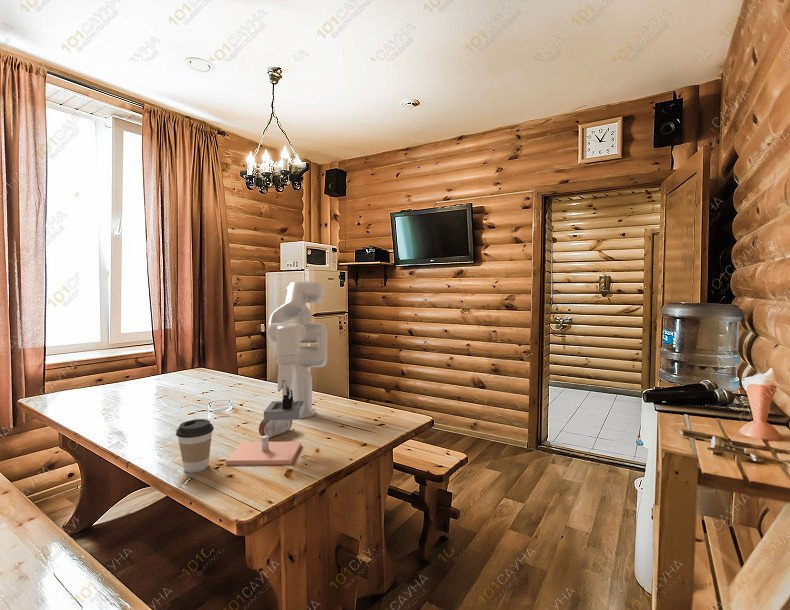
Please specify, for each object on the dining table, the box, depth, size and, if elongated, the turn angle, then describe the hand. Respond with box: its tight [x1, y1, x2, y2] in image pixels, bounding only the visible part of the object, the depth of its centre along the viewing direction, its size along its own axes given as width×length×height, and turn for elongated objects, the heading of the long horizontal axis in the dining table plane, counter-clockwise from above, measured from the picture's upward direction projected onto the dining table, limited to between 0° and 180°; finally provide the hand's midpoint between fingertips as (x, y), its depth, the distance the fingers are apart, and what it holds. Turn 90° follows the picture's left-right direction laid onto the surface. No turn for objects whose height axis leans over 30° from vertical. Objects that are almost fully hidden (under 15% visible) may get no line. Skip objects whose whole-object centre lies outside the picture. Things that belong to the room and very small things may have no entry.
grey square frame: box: [263, 400, 305, 421], centre depth 150 cm, size 12×12×3 cm
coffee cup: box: [175, 418, 214, 473], centre depth 138 cm, size 11×11×15 cm
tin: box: [258, 418, 293, 439], centre depth 168 cm, size 15×3×8 cm, turn 144°
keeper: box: [225, 436, 302, 466], centre depth 149 cm, size 16×22×7 cm
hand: (287, 407), depth 155 cm, fingers closed on grey square frame, 2 cm apart
